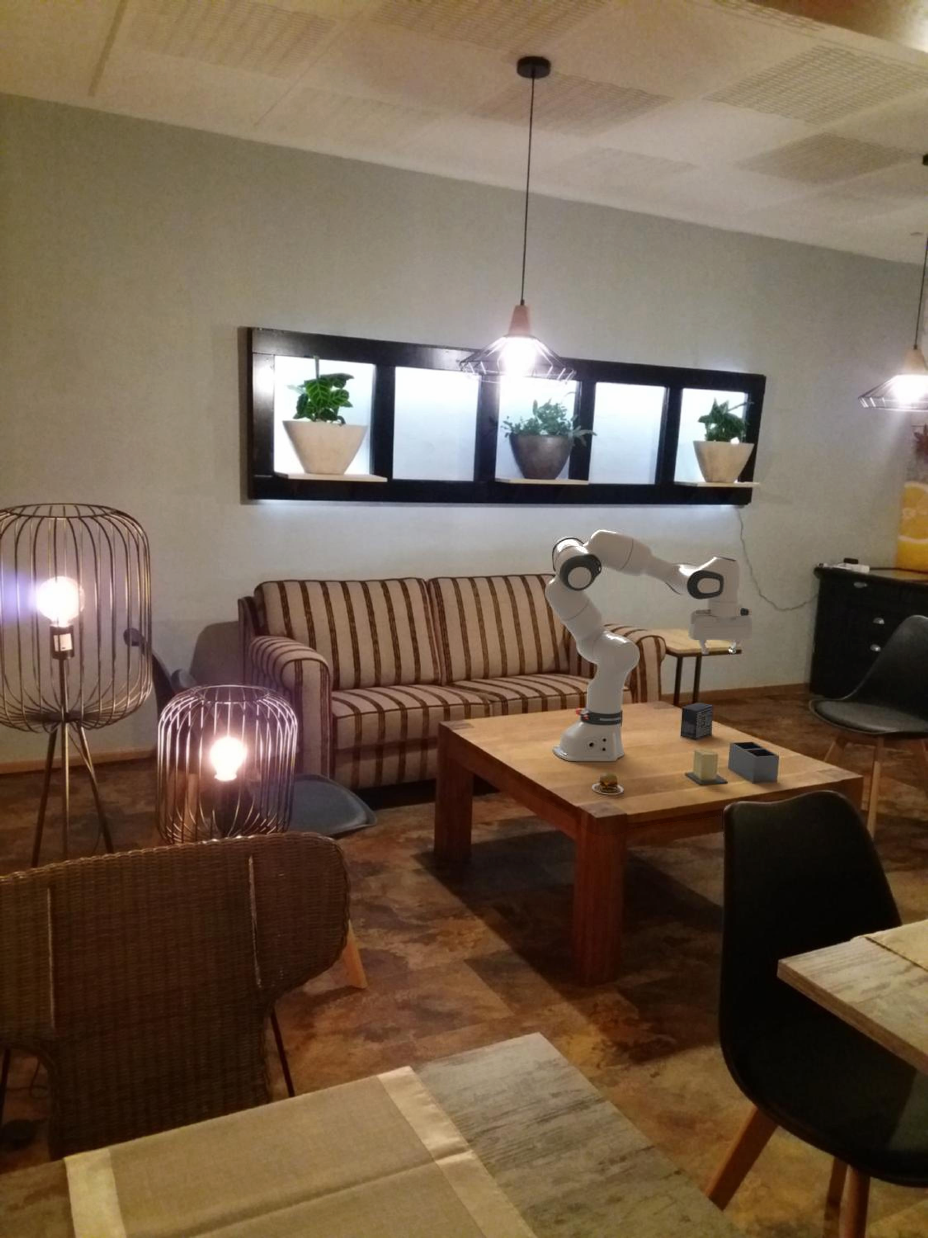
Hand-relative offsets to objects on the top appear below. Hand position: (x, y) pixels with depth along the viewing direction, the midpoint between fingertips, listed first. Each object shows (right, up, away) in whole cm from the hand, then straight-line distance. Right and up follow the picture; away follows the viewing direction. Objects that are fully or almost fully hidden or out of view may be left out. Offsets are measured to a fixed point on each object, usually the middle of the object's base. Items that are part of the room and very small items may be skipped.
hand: (718, 653), depth 294 cm
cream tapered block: (-8, -36, -14) cm, 40 cm away
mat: (-7, -37, -13) cm, 40 cm away
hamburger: (-38, -39, -24) cm, 60 cm away
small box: (0, -30, +31) cm, 43 cm away
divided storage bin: (+8, -36, -8) cm, 38 cm away
